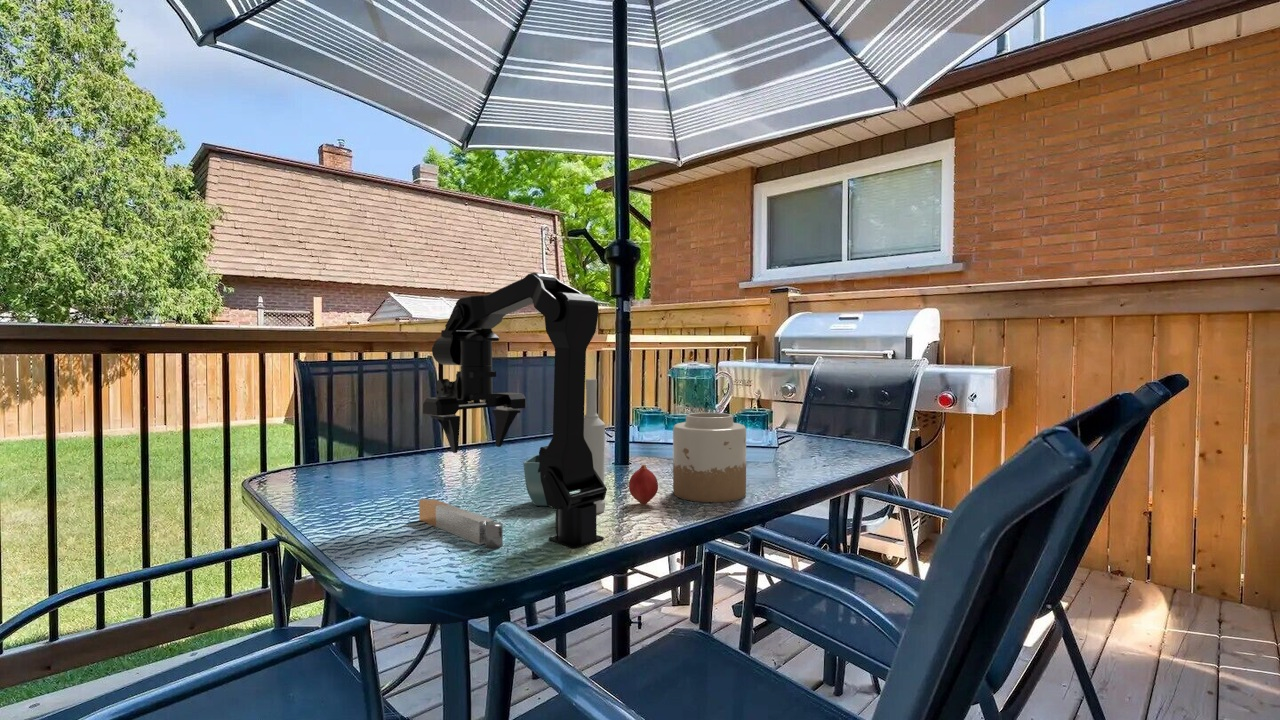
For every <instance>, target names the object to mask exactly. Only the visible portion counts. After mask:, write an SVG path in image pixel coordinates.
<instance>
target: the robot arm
mask: <svg viewBox="0 0 1280 720" xmlns="http://www.w3.org/2000/svg"><path fill="white" fill-rule="evenodd" d="M532 304H533V308H535V310H537V311H538V312H539V313H540V314H541V315H542V316H544V324H545V331H546V334H547V336H548V338H549V340H550V342H551V344H552V346H553V347H554V370H553V371H554V374H553V410H552V411H553V412H552V413H553V415H552V417H553V418H552V419H553V420H552V438H551V440H550V442H549V443H548V445H546V446H540V448H539V451H538V455H539V460H540V463H539V469H538V473H539V472H540V478H541V483H542V486H543V491H544V495H545V499H546V503H547V506H546V507H551V508H552V510H555V535H554V536H550V537H549V538H548V541H549V542H551V543H555V544H557V545H561V546H563V547H567V548H568V549H572V550H577V549H579V548H583V547H585V546H589V545H592V544H595V543H600V542H602V541H604V540H605V538H604V536H601V535H599V534H597V514H596V504H594V502H596V501H600V500H606V499H605V498H606V494H607V491H608V488H607V487H606V485H605V482H604V483H603V482H602V480H601V479H600V477H599V476H598V474H597V473H596V471H595V470H594V468H593V458H592V452H591V450H590V448H589V446H588V445H587V443H586V441H585V439H584V415H585V405H586V400H585V399H586V364H587V362H586V361H587V356H586V355H587V348H588V347H589V345H590V342H591V341H592V339H593V337H594V336H595V334H596V332H597V331H596V330H597V326H598V325H597V324H598V318H599V305H598V302H596V301H595V299H594V297H592V296H591V295H590V294H586V293H585V294H584V293H582V292H581V291H579V290H577V289H576V288H574V287H572V286H570V285H568V284H566V283H564V282H562V281H561V280H560V279H558V278H557V277H556V276H554V275H553V274H551V273H541V272H531V273H528V274H527V275H525V277H523V278H521V279H519V280H516V281H515V282H512V283H510V284H508V285H506V286H504V287H501V288H499V289H497V290H495V291H493V292H491V293H489V294H483V295H471V296H464V297H460V298H459V299H458V300H457V301H456V302H455V305H454V307H453V309H452V311H451V314H450V315H449V318H448V320H447V322H446V324H445V326H444V327H445V328H444V329H442V330H440V332H441V335H440V336H439V337H437V339H436V340H435V341H434V343H433V344H432V345H433V346H432V347H431V348H432V349H431V352H432V356H433V359H434V360H435V361H436V362H437V363H438V364H440V365H443V366H444V365H445V366H460V371H459V370H458V371H456V375H455V380H454V381H452V380H451V381H450V380H449V378H439V379H438V380H436V381H435V392H436V396H437V397H426V399H425V400H424V401H423V403H422V414H424V415H429V417H430V418H431V419H435V420H437V422H438V423H439V424H440V426H441V428H442V429H443V431H444V433H445V436H446V440H447V442H448V445H449V447H450V450H451V453H453V454H458V452H459V451H458V450H459V445H460V444H459V442H460V428H461V426H460V425H461V415H456V414H457V413H458V412H459V411H461V410H472V409H473V410H474V409H482V408H483V409H484V408H492V409H491V410H492V413H493V416H494V419H495V422H494V423H495V424H494V426H495V430H494V433H495V435H494V440H495V446H496V447H497V448H501V446H502V444H503V443H504V440H505V438H506V436H507V434H508V431H509V429H510V427H511V426H512V423H513V421H515V418H516V416H517V415H519V414H521V412H522V411H521V409H526V408H527V398H526V396H525V395H524V393H521V392H510V391H509V392H496V393H495V392H494V393H493V378H496V377H497V371H496V370H495V371H494V370H493V342H499V341H500V337H499V336H498V335H497V334H496V333H495V332H493V329H494V328H495V327H496V326H498V325H499V324H500V323H502V322H503V319H504V317H505V316H507V315H508V314H511V313H514V312H516V311H518V310H521V309H523V308H526V307H527V306H530V305H532ZM580 490H581V492H580ZM575 491H578V492H575ZM571 492H575V493H572V494H571Z"/></svg>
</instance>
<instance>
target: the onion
mask: <svg viewBox="0 0 1280 720" xmlns="http://www.w3.org/2000/svg"><path fill="white" fill-rule="evenodd" d="M628 489H629V490H628V491H629V493H630V495H631V496H632V498H633V499H634V500H636V501H637V502H638V503H639V504H640V505H642V506H645V505H647V504H648V503H649V502H651V500H653V498H654V497H656V495H657V493H658V490H659V484H658V480H657V477H656V475H655V474H654V473H653V472H652V471H651V470H650V469H649V468H647V465H646V464H641V466H640V468H638V469H637V470H636V471H635V472H633V474H632V475H631V476H630V479H629V482H628Z"/></svg>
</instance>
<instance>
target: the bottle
mask: <svg viewBox="0 0 1280 720" xmlns="http://www.w3.org/2000/svg"><path fill="white" fill-rule="evenodd" d="M597 380H598V379H597V378H585V399H586V400H585V405H586V406H585V407H586V408H585V409H586V410H585V412H586V413H585V414H584V439H585V441H586V443H587V445H588V446H589V448H590V450H591V452H592V458H593V468H594V470H595V471H596V473H597V474H598V476H599V477H600V479H601V480H602V482H603V483H604V484H605V452H606V451H605V448H606V447H605V446H606V444H605V439H606V424H605V422H604V421H603V420H602V419H601V418H599V414H598V413H597V390H598V389H597V388H598V383H597ZM579 492H581V490H579ZM594 504H596V515H597V514H602V513H604V512H605V509H606V499H604V500H600V501H596V502H594Z"/></svg>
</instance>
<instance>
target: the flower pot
mask: <svg viewBox="0 0 1280 720" xmlns="http://www.w3.org/2000/svg"><path fill="white" fill-rule="evenodd" d="M539 463H540V460H539V454H534V455H533V456H531V457H530V458H528V459H526V460H525V461H524V462H523V471H524V481H525V488H526V491H527V493H528V496H529V497H530V500H531V502H532V503H533V505H535V506H539V507H540V506H543V507H544V506H546V507H548V506H547V503H546V499H545V495H544V491H543V486H542V483H541V478H540V472H539V473H538V469H539Z"/></svg>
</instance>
